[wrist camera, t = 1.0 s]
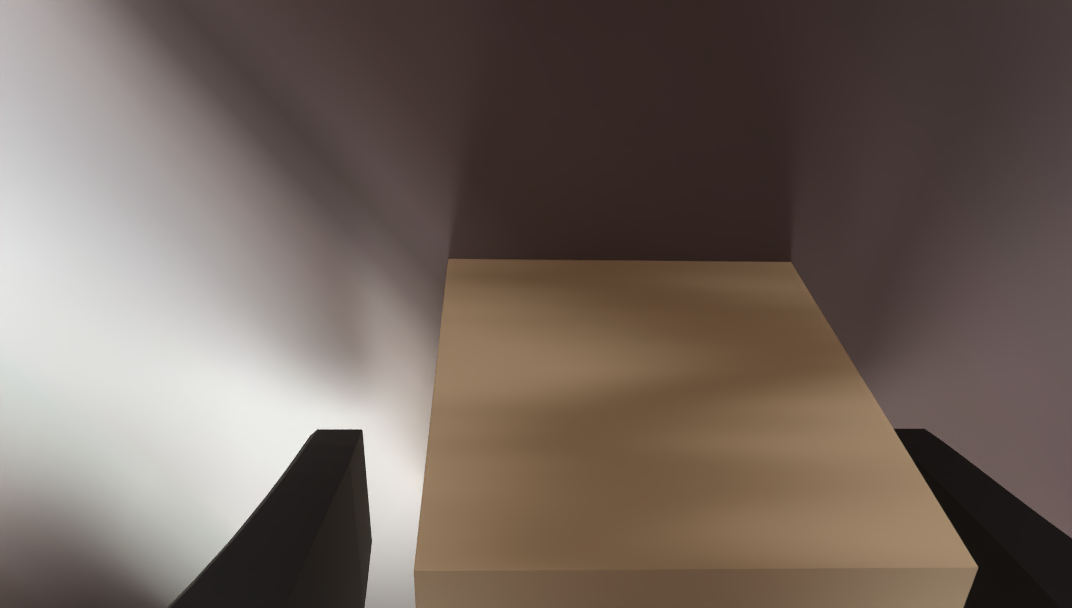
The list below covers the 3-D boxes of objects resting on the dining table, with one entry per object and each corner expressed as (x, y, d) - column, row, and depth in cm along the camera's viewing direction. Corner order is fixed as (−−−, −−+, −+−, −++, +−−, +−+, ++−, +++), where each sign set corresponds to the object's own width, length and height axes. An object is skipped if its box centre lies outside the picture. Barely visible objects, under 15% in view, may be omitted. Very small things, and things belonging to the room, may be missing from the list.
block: (790, 260, 13) (978, 567, 8) (741, 516, 16) (862, 877, 10) (448, 257, 13) (413, 570, 8) (453, 517, 15) (431, 886, 10)
